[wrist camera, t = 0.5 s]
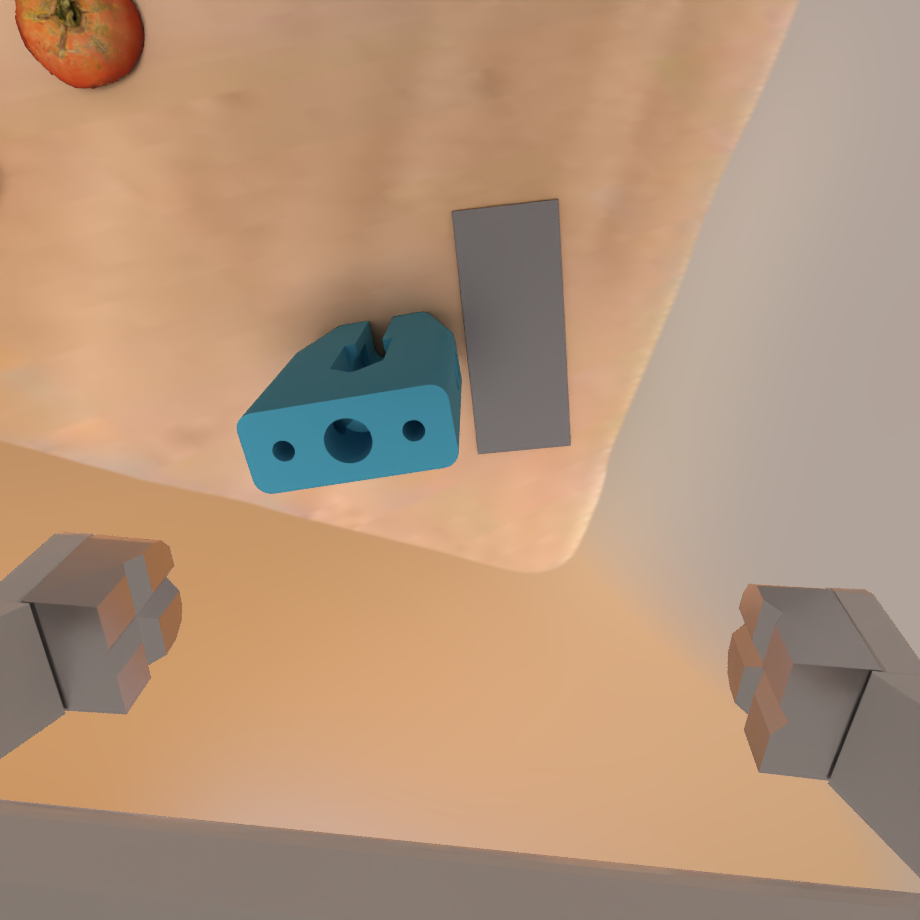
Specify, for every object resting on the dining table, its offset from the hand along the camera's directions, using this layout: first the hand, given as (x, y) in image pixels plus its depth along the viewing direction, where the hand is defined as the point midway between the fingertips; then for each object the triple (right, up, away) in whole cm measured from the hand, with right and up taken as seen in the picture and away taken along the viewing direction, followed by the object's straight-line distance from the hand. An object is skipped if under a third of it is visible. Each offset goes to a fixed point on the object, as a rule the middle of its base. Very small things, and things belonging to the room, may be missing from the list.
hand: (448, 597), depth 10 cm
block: (-6, +11, +47) cm, 49 cm away
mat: (+5, +12, +47) cm, 48 cm away
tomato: (-25, +32, +39) cm, 56 cm away
